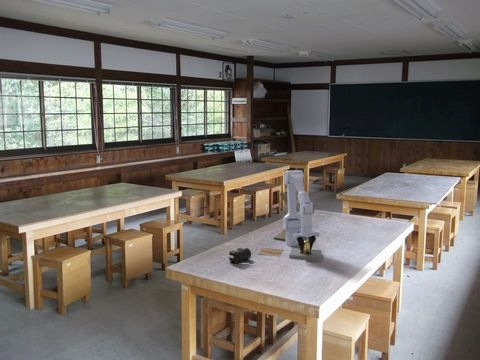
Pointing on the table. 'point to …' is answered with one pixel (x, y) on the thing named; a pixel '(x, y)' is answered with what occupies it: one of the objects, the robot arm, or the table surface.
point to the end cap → (239, 255)
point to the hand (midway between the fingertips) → (305, 250)
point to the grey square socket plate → (306, 255)
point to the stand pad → (270, 252)
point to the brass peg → (306, 247)
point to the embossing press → (283, 234)
